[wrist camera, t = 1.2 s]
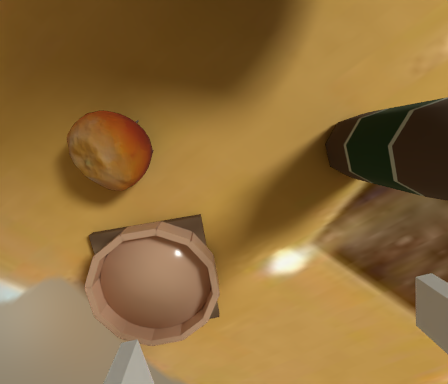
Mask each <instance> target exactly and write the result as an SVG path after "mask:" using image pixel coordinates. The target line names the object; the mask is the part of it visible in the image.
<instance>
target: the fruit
mask: <svg viewBox="0 0 448 384" xmlns="http://www.w3.org/2000/svg"><path fill="white" fill-rule="evenodd" d="M138 121H139V120H137V121H136V122H134V121H133V120H131V119H130V118H128V117H126V116H123V115H121V114H118V113H114V112H109V111H97V112H92V113H87V114H86V115H85V116H83V117H81V118H80V119H79V120H78V121H77V122H76V123H75V124H74V125H73V126H72V128H71V130H70V132H69V133H68V136H67V142H68V146H69V154H70V157H71V159H72V160H73V163H74V164H75V165H76V167H77V168H78V169H79V170H80V171H81V172H82V173H83V174H84V175H85V176H86V177H88V178H89V179H91V180H92V181H94V182H96V183H98V184H100V185H101V186H103V187H105V188H107V189H110V190H117V191H123V190H125V189H127V188H129V187H131V186H133V185H134V184H135V183H137V182H138V181H139V180H140V179H141V178H142V177H143V175H144V174H145V173H146V171H147V169H148V167H149V164H150V161H151V157H152V153H153V149H152V146H151V142H150V139H149V137H148V136H147V134H146V133H145V131H144V130H143V129H142V128H141V127H140V126H139V125H138V124H137V122H138Z"/></svg>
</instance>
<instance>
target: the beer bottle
mask: <svg viewBox="0 0 448 384" xmlns="http://www.w3.org/2000/svg"><path fill="white" fill-rule="evenodd" d="M325 145H326V150H327V154H328V158H329V163H330V167H332V168H334V169H336V170H338V171H340V172H342V173H344V174H346V175H347V176H349V177H352V178H355V179H358V180H362V181H366V182H370V183H374V184H378V185H382V186H386V187H390V188H393V189H397V190H401V191H405V192H409V193H413V194H417V195H421V196H425V197H430V198H436V199H442V200H448V98H442V99H437V100H432V101H426V102H421V103H416V104H410V105H405V106H400V107H394V108H389V109H384V110H378V111H373V112H368V113H365V114H361V115H358V116H355V117H352V118H350V119H347V120H344V121H341V122H338V123H337V125H336V126H335V128H334V130H333V132H332V134H331V135H330V137H329V139H328V141H327V143H326V144H325Z"/></svg>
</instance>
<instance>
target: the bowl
mask: <svg viewBox="0 0 448 384" xmlns="http://www.w3.org/2000/svg"><path fill="white" fill-rule="evenodd" d="M109 252H110V253H109ZM108 253H109V254H108ZM84 287H85V291H86V294H87V297H88V300H89V303H90V306H91V309H92V312H93V315H94V316H95V318H96V319H97V320H98V321H100V322H101V323H102V324H103V325H104V326H105V327H106V328H108V329H109V330H110V331H111V332H112V333H114V334H115V335H116V336H117V337H120V338H121V339H125V340H129V341H132V340H136V339H138V342H139V343H140V344H144V345H148V346H151V345H152V346H155V345H160V344H166V343H171V342H177V341H182V340H184V339H186V338H187V337H188V336H190V335H191V334H192V333H194V332H195V331H196V330H198V329H199V328H200V327H202V326H203V325H204V324H206V323H207V321H209V318H210V316H211V314H212V311H213V309H214V307H215V304H216V302H217V299H218V297H219V280H218V275H217V270H216V264H215V259H214V255H213V253H212V252H211V251H210V250H209V249H208V248H207V247H206V246H205V244H204V243H203V242H202V241H201V240H200V239H199V238H198V237H197V236H196V235H195V234H194V232H193V233H192V231H189V230H186V229H183V228H180V227H177V226H174V225H171V224H168V223H165V222H160V221H159V222H153V223H147V224H141V225H135V226H129V227H127V228H125V229H124V230H123V231H122V232H121V233H119V234H118V235H117V236H116V237H115V238H113V239H112V240H111V241H110V242H109V243H107V244H106V245H105V246H104V247H103V248H102V249H101V250H100V251H99V252H98V253H97V254H96V255H95V256H94V257H93V259H92V262H91V266H90V269H89V272H88V276H87V279H86V283H85V286H84Z"/></svg>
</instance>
